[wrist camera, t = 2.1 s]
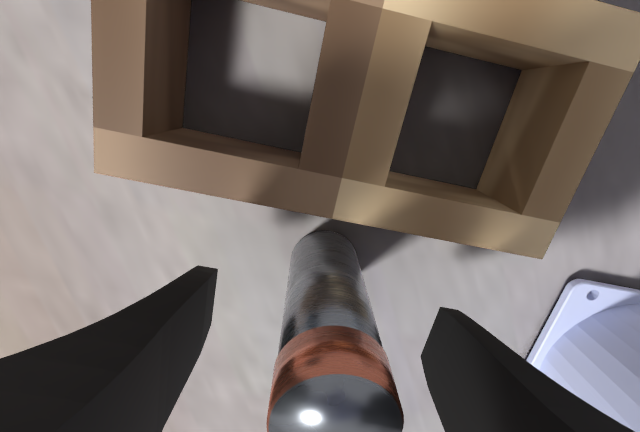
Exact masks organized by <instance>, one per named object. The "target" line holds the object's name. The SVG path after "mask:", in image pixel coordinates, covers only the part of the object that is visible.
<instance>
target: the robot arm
mask: <svg viewBox="0 0 640 432" xmlns="http://www.w3.org/2000/svg"><path fill="white" fill-rule="evenodd" d="M217 272H218V269H215V268H209V267H203V266H196V267H194V268H193V269H191V270H190V271H188V272H186V273H185V274H183V275H182V276H180V277H178V278H177V279H175V280H174V281H172V282H170V283H169V284H167V285H166V286H164V287H162V288H161V289H159V290H157V291H156V292H154V293H152V294H151V295H149V296H147V297H145V298H143V299H141V300H140V301H138V302H136V303H134V304H132V305H130V306H128V307H126V308H125V309H123V310H121V311H119V312H117V313H115V314H113V315H111V316H109V317H107V318H105V319H102V320H100V321H98V322H96V323H94V324H91V325H89V326H87V327H84V328H82V329H80V330H77V331H75V332H73V333H70V334H68V335H65V336H63V337H60V338H57V339H54V340H52V341H49V342H46V343H43V344H41V345H38V346H35V347H33V348H30V349H27V350H24V351H22V352H19V353H16V354H13V355H10V356H7V357H4V358H1V359H0V432H162V430H163V428H164V425H165V423H166V421H167V420H168V418H169V416H170V414H171V412H172V410H173V408H174V406H175V404H176V402H177V400H178V398H179V396H180V394H181V392H182V390H183V388H184V386H185V384H186V382H187V380H188V378H189V376H190V374H191V372H192V370H193V368H194V366H195V364H196V362H197V360H198V358H199V356H200V353H201V351H202V348H203V345H204V343H205V340H206V337H207V334H208V331H209V329H210V326H211V321H212V313H213V305H214V296H215V288H216V280H217ZM590 291H591V292H590ZM589 292H590V293H589ZM588 293H589V294H588ZM421 360H422V364H423V369H424V373H425V377H426V381H427V385H428V388H429V391H430V394H431V396H432V399H433V402H434V404H435V407H436V409H437V412H438V415H439V417H440V420H441V422H442V425H443V427H444V430H445V432H640V290H637V289H632V288H627V287H621V286H616V285H611V284H606V283H600V282H595V281H590V280H585V279H575V280H572V281H571V282H569V283H568V284H567V285H566V287H565V289H564V291H563V292H562V294H561V296H560V298H559V300H558V302H557V304H556V306H555V307H554V309H553V311H552V313H551V315H550V317H549V319H548V321H547V323H546V324H545V326H544V328H543V330H542V332H541V334H540V336H539V338H538V339H537V341H536V343H535V345H534V347H533V349H532V351H531V353H530V354H529V356H528V358H527V360H525V359H523V358H522V357H521V356H519V355H518V354H517V353H515V352H514V351H513V350H511V349H510V348H509V347H508V346H506V345H505V344H504V343H502V342H501V341H500V340H498V339H497V338H496V337H495V336H493V335H492V334H491V333H489V332H488V331H487V330H486V329H484V328H483V327H482V326H480V325H479V324H478V323H476V322H475V321H474V320H472V319H471V318H469V317H468V316H466V315H465V314H463V313H462V312H460V311H459V310H455V309H449V308H443V307H440V309H439V311H438V314H437V316H436V319H435V321H434V324H433V326H432V329H431V331H430V334H429V337H428V339H427V342H426V344H425V347H424V349H423V352H422V354H421Z"/></svg>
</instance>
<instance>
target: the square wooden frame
mask: <svg viewBox="0 0 640 432" xmlns="http://www.w3.org/2000/svg"><path fill="white" fill-rule="evenodd" d="M240 1H244V2H249V3H253V4H257V5H261V6H265V7H269V8H273V9H277V10H281V11H285V12H289V13H293V14H297V15H301V16H305V17H309V18H313V19H317V20H321V21H325V22H326V27H325V32H324V37H323V43H322V48H321V53H320V58H319V63H318V69H317V74H316V79H315V84H314V90H313V95H312V100H311V105H310V110H309V116H308V121H307V126H306V131H305V136H304V142H303V147H302V152H296V151H291V150H286V149H282V148H277V147H272V146H267V145H263V144H258V143H253V142H248V141H243V140H239V139H234V138H229V137H224V136H220V135H215V134H210V133H205V132H201V131H196V130H191V129H186V128H183V114H184V100H185V86H186V71H187V57H188V43H189V28H190V14H191V0H91V22H92V77H93V131H94V173H97V174H103V175H108V176H113V177H118V178H123V179H128V180H134V181H139V182H144V183H149V184H154V185H160V186H165V187H170V188H175V189H180V190H185V191H191V192H196V193H201V194H206V195H211V196H217V197H222V198H227V199H232V200H237V201H242V202H248V203H253V204H258V205H263V206H268V207H274V208H279V209H284V210H289V211H294V212H299V213H305V214H310V215H315V216H320V217H325V218H331V219H332V217H333V213H334V209H335V205H336V201H337V196H338V192H339V188H340V184H341V180H342V176H343V171H344V167H345V163H346V159H347V155H348V150H349V146H350V142H351V138H352V134H353V130H354V125H355V121H356V117H357V113H358V109H359V105H360V100H361V96H362V92H363V88H364V84H365V79H366V75H367V71H368V67H369V63H370V59H371V54H372V50H373V46H374V42H375V38H376V33H377V29H378V25H379V21H380V17H381V13H382V8H383V4H384V0H240Z"/></svg>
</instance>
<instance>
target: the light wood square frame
mask: <svg viewBox="0 0 640 432" xmlns="http://www.w3.org/2000/svg"><path fill="white" fill-rule="evenodd" d="M425 46H426V47H431V48H435V49H439V50H443V51H447V52H451V53H455V54H459V55H463V56H467V57H471V58H475V59H479V60H483V61H487V62H491V63H495V64H499V65H503V66H507V67H511V68H515V69H519V70H522V71H521V74H520V77H519V79H518V82H517V84H516V87H515V90H514V92H513V95H512V97H511V100H510V103H509V105H508V108H507V110H506V113H505V116H504V118H503V121H502V123H501V126H500V129H499V131H498V134H497V136H496V139H495V142H494V144H493V147H492V149H491V152H490V155H489V157H488V160H487V163H486V165H485V168H484V170H483V173H482V176H481V178H480V181H479V183H478V186H477V189H473V188H468V187H463V186H458V185H453V184H449V183H444V182H439V181H434V180H430V179H425V178H420V177H415V176H410V175H406V174H401V173H396V172H391V171H389V170H390V166H391V163H392V159H393V156H394V152H395V149H396V145H397V142H398V138H399V135H400V131H401V128H402V124H403V121H404V117H405V114H406V110H407V107H408V103H409V100H410V96H411V93H412V89H413V86H414V82H415V79H416V75H417V72H418V68H419V65H420V61H421V58H422V54H423V51H424V47H425ZM639 61H640V12H636V11H633V10H629V9H625V8H622V7H618V6H615V5H611V4H607V3H604V2H600V1H596V0H384V4H383V8H382V13H381V17H380V21H379V25H378V29H377V33H376V38H375V42H374V46H373V50H372V54H371V59H370V63H369V67H368V71H367V75H366V79H365V84H364V88H363V92H362V96H361V100H360V105H359V109H358V113H357V117H356V121H355V125H354V130H353V134H352V138H351V142H350V146H349V150H348V155H347V159H346V163H345V167H344V171H343V176H342V180H341V184H340V188H339V192H338V196H337V201H336V205H335V209H334V213H333V217H332V219H336V220H341V221H346V222H351V223H356V224H362V225H367V226H372V227H377V228H382V229H388V230H393V231H398V232H403V233H408V234H413V235H419V236H424V237H429V238H434V239H439V240H445V241H450V242H455V243H460V244H465V245H470V246H476V247H481V248H486V249H491V250H496V251H502V252H507V253H512V254H517V255H522V256H527V257H533V258H538V259H543V257H544V255H545V253H546V251H547V249H548V247H549V245H550V243H551V241H552V239H553V237H554V234H555V232H556V230H557V228H558V226H559V224H560V222H561V220H562V218H563V216H564V214H565V212H566V210H567V208H568V206H569V204H570V202H571V200H572V198H573V196H574V194H575V192H576V190H577V187H578V185H579V183H580V181H581V179H582V177H583V175H584V173H585V171H586V169H587V167H588V165H589V163H590V161H591V159H592V157H593V155H594V153H595V151H596V149H597V147H598V145H599V143H600V140H601V138H602V136H603V134H604V132H605V130H606V128H607V126H608V124H609V122H610V120H611V118H612V116H613V114H614V112H615V110H616V108H617V106H618V104H619V102H620V100H621V98H622V95H623V93H624V91H625V89H626V87H627V85H628V83H629V81H630V79H631V77H632V75H633V73H634V71H635V69H636V67H637V65H638V63H639Z"/></svg>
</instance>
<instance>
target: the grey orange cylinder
mask: <svg viewBox="0 0 640 432" xmlns="http://www.w3.org/2000/svg"><path fill="white" fill-rule="evenodd" d="M403 424H404V415H403V411H402V407H401V403H400V400H399V396H398V393H397V389H396V386H395V382H394V379H393V375H392V372H391V368H390V365H389V361H388V358H387V356H386V353H385V351H384V350H383V347H382V344H381V340H380V337H379V333H378V329H377V326H376V322H375V319H374V315H373V311H372V308H371V304H370V301H369V297H368V293H367V290H366V286H365V283H364V279H363V275H362V272H361V268H360V265H359V261H358V257H357V254H356V251H355V248H354V247H353V245H352V244H351V242H350V241H349V240H348V239H347V238H345V237H344V236H342V235H341V234H338V233H336V232H332V231H317V232H314V233H311V234H309V235H307V236H305V237H304V238H302V239H301V240H300V241H299V242H298V243H297V244H296V246H295V248H294V250H293V252H292V256H291V264H290V271H289V278H288V286H287V293H286V300H285V308H284V315H283V323H282V330H281V337H280V345H279V352H278V357H277V359H276V362H275V366H274V373H273V380H272V387H271V394H270V401H269V408H268V415H267V432H402V429H403Z"/></svg>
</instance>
